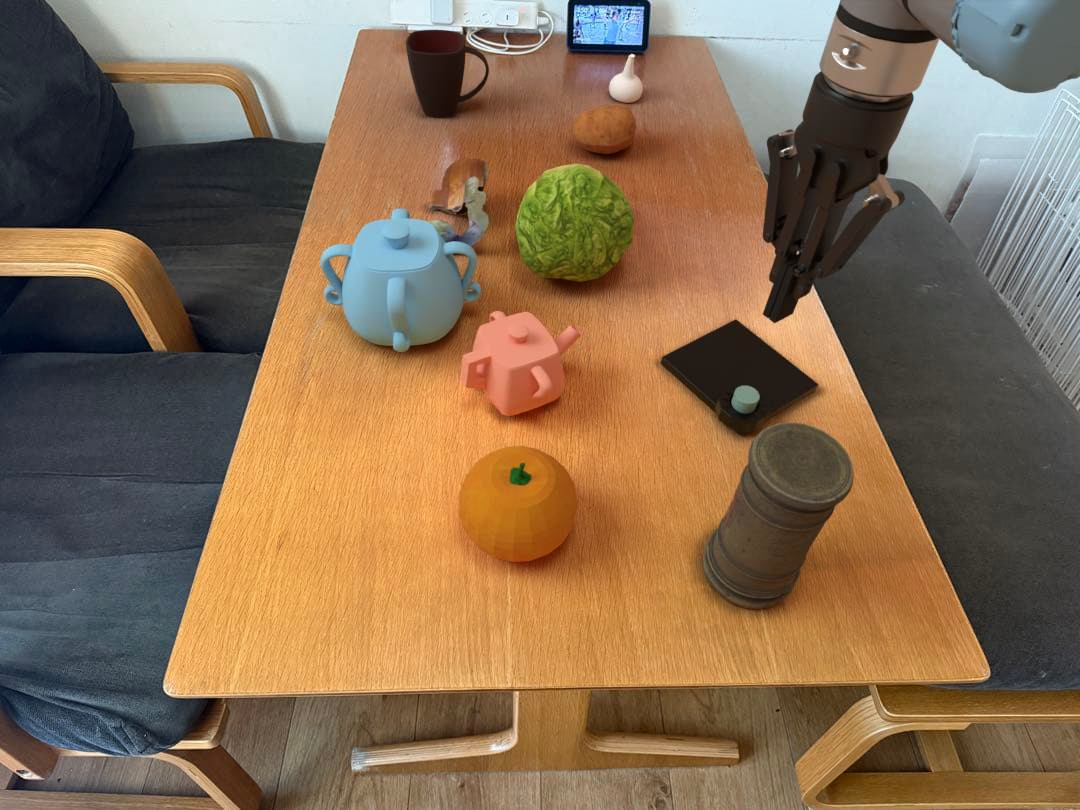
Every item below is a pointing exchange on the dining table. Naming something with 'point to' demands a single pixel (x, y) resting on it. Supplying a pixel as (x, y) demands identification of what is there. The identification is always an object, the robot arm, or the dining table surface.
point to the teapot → (517, 362)
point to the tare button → (745, 399)
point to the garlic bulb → (626, 84)
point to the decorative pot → (401, 282)
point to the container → (776, 514)
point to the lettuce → (573, 224)
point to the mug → (440, 70)
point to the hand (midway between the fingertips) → (777, 313)
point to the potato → (604, 128)
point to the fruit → (518, 503)
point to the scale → (738, 375)
